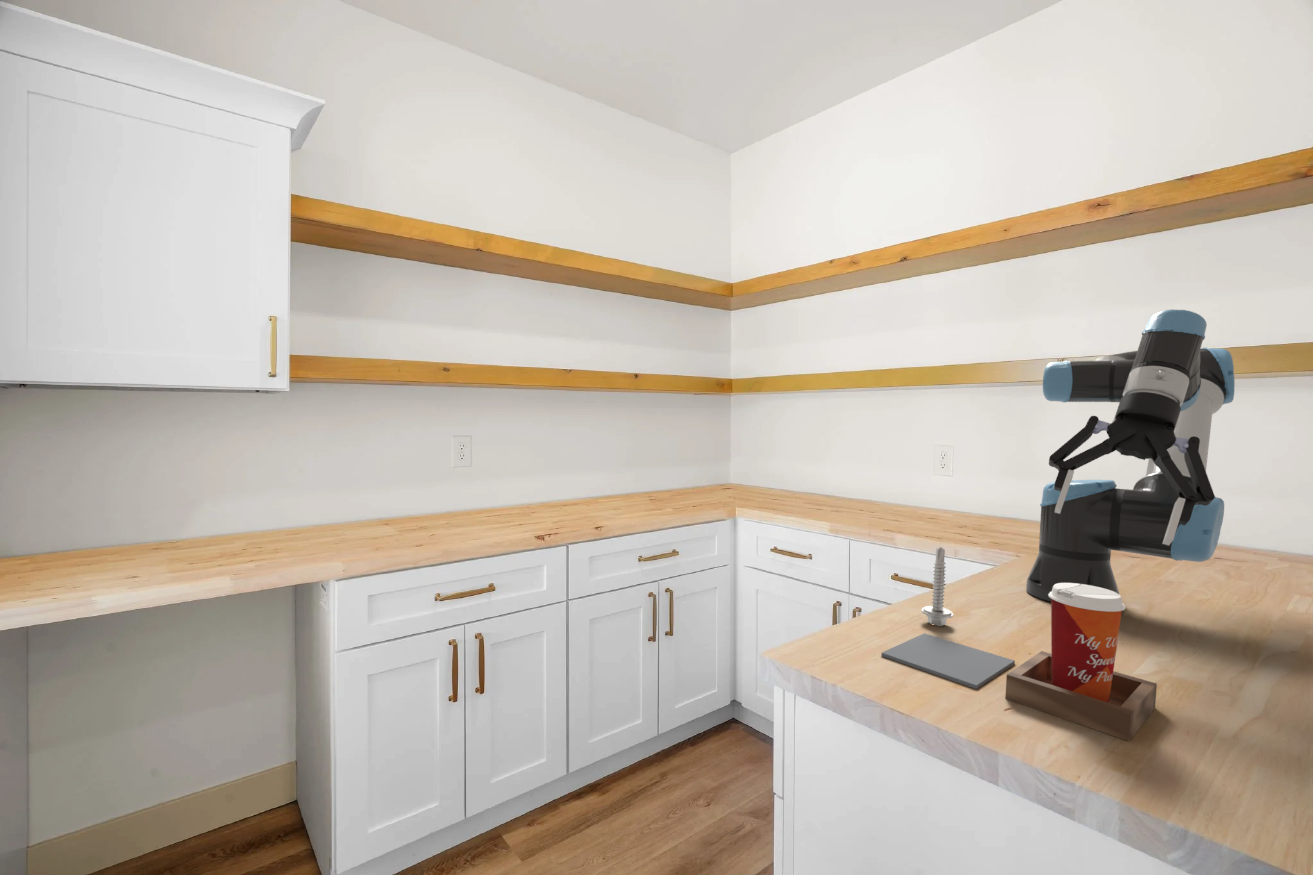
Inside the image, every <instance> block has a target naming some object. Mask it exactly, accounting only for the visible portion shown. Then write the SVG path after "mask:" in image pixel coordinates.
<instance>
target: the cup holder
mask: <svg viewBox="0 0 1313 875" xmlns="http://www.w3.org/2000/svg"><path fill="white" fill-rule="evenodd" d="M1046 679H1050V680H1052V653H1050V652H1047V651H1043V650H1041V651H1039V652H1038V653H1037V654H1035V655H1033V656H1031V657H1030V658H1029V659H1028V660H1026V661H1025V662H1023V663H1021V664H1020V665H1018V666H1017V667H1016V668H1014V669H1012V670H1011V671H1009V673H1007V674H1006V680H1005V696H1004V697H1005V699H1006V700H1009V701H1012V702H1015V703H1018V704H1020V705H1024V706H1027V707H1029V708H1032V709H1035V710H1039V711H1041V712H1044V713H1047V714H1050V715H1052V716H1055V717H1059V718H1060V719H1064V720H1067V721H1070V722H1072V723H1076V724H1078V725H1081V726H1084V727H1087V728H1090V729H1092V730H1096V731H1099V732H1102V733H1104V734H1107V735H1110V736H1113V737H1116V738H1119V739H1122V740H1125V741H1128V742H1130V741H1131V740H1132V738H1133V737H1134V736H1135V735H1136V733H1137V732H1138V731H1139V729H1140V728H1141V727H1142V725H1144V722H1146V720H1147V719H1148V718H1149V717H1150V715H1151V714H1152V712H1154V710H1155V709H1156V701H1157V700H1156V698H1157V687H1158V683H1157V682H1153V681H1150V680H1149V681H1148V680H1145V679H1142V678H1138V677H1135V676H1133V675H1132V676H1131V675H1128V674H1124V673H1121V672H1118V671H1114V670H1113V677H1112V684H1111V691H1110V697H1109V699H1113V700H1116V701H1117V700H1118V701H1121V702H1123V703H1122V704H1121V705H1120V706H1119V705H1116V704H1113V703H1110V702H1109V703H1107V702H1104V701H1101V700H1098V699H1095V698H1091V697H1088V696H1085V695H1082V694H1079V693H1076V692H1072V691H1069V690H1066V689H1063V688H1060V687H1057V686H1053V685H1052V684H1050V683H1047V682H1044V681H1045V680H1046Z"/></svg>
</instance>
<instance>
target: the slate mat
mask: <svg viewBox="0 0 1313 875" xmlns="http://www.w3.org/2000/svg"><path fill="white" fill-rule="evenodd" d="M881 657H883V658H885V659H886V658H887V659H888V660H892V661H894V662H897V663H900V664H903V665H906V666H909V667H912V668H914V669H917V670H920V671H923V672H925V673H929V674H932V675H935V676H938V677H940V678H943V679H945V680H949V681H952V682H954V683H958V684H961V685H964V686H966V687H969V688H971V689H975V690H977V689H979V688H980V687H982V686H983V685H985V684H986V683H988V682H989V681H991V680H993V679H994V678H995V677H997V676H999V675H1000V674H1002V673H1003V672H1005V671H1006V670H1008V669H1010V668H1011V667H1012V666H1014V665H1015V664H1016V663H1015V661H1016V660H1015V659H1012V658H1008V657H1004V656H1001V655H998V654H994V653H991V652H988V651H984V650H981V649H978V648H975V647H971V646H968V645H964V644H961V643H958V642H955V641H951V640H949V639H946V638H945V639H944V638H941V637H938V636H935V635H931V634H929V633H926V632H924V633H922V634H919V635H917V636H915V637H913V638H910V639H908V640H906V641H905V642H902V643H899V644H896V645H895V646H893V647H891V648H889V649H886V650H883V651H882V652H881Z"/></svg>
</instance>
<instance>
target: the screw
mask: <svg viewBox="0 0 1313 875" xmlns="http://www.w3.org/2000/svg"><path fill="white" fill-rule="evenodd" d="M945 554H946V551H945V549H944V548H943V547H941V546H939V547H938V548H936V550H935V560H934V561H935V563H934V567H933V574H932V575H933V577H932V579H933V581H932V583H933V584H932V588H931V589H932V590H933V591H932V595H931V596H932V598H931V600H932V601H931V603H932V605H926V606H923V607H922V608H921V613H922V614H923V615H925V616H926V617H927V621H928V622H929V623H930V625H931V624H934V625H937V626H936V627H939V626H942V627H944V626H943V625H945V624H946V625H947V620H948V619H952V618H953V617H954V613H953V612H952V611H951V610H950V609H948V608H946V607H945V606H944V603H945V601H944V600H945V598H944V596H945V594H944V593H945V590H946V587H945V583H946V580H945V579H946V576H945V575H946V573H945V572H946V562H945V556H946V555H945ZM928 622H927V623H928ZM929 623H928V624H929ZM946 625H945V626H946Z"/></svg>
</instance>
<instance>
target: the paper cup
mask: <svg viewBox="0 0 1313 875" xmlns="http://www.w3.org/2000/svg"><path fill="white" fill-rule="evenodd" d="M1119 594H1120V593H1119ZM1119 594H1118V593H1116V592H1114V591H1111V590H1108V589H1104V588H1100V587H1096V586H1091V585H1085V584H1077V583H1057V584H1055V585H1054V586H1053V588H1052V591H1051V592H1050V593H1049V594H1048V596H1049V597H1050V598H1051V602H1050V605H1051V607H1050V609H1051V610H1050V611H1051V613H1050V614H1051V616H1050V618H1051V619H1050V620H1051V621H1050V622H1051V632H1050V633H1051V639H1050V640H1051V643H1050V644H1051V646H1050V647H1051V648H1050V649H1051V653H1050V654H1052V679H1051V685H1053V686H1057V687H1060V688H1063V689H1066V690H1069V691H1072V692H1076V693H1079V694H1082V695H1085V696H1088V697H1091V698H1095V699H1098V700H1101V701H1104V702H1107V703H1110V691H1111V684H1112V677H1113V671H1114V670H1115V661H1116V655H1117V648H1118V643H1119V642H1118V640H1119V634H1120V633H1119V632H1120V627H1121V620H1122V614H1123V613H1122V611H1125V609H1126V606H1125V604H1124V603H1123V598H1122V596H1121V594H1120V595H1119Z"/></svg>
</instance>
